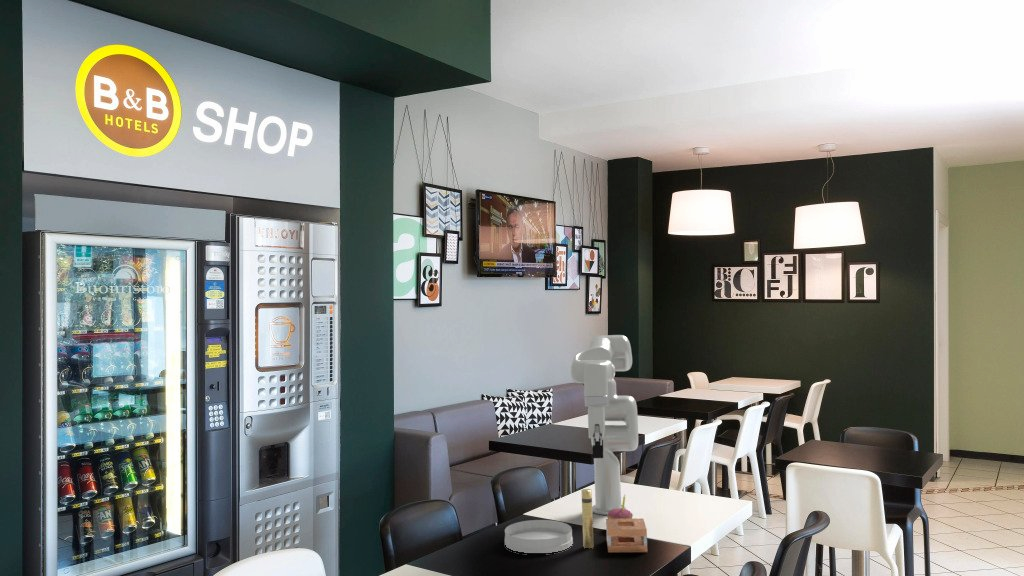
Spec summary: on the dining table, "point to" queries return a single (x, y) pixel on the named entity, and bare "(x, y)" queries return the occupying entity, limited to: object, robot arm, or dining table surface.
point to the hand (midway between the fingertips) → (598, 455)
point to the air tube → (587, 518)
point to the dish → (538, 536)
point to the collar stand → (626, 535)
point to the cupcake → (620, 513)
